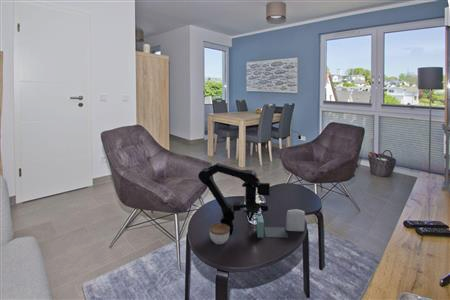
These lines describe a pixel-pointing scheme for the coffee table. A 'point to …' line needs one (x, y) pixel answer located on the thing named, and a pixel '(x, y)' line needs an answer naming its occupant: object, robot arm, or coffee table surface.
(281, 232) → the mat
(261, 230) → the slab
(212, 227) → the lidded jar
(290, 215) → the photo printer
